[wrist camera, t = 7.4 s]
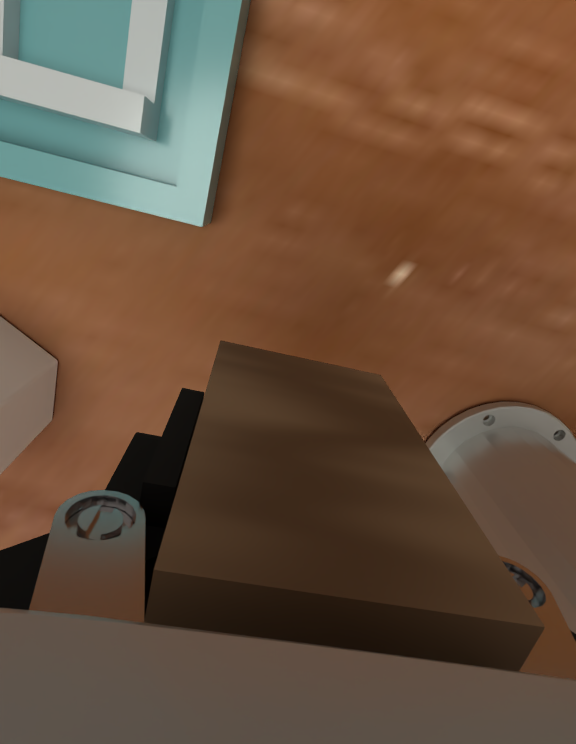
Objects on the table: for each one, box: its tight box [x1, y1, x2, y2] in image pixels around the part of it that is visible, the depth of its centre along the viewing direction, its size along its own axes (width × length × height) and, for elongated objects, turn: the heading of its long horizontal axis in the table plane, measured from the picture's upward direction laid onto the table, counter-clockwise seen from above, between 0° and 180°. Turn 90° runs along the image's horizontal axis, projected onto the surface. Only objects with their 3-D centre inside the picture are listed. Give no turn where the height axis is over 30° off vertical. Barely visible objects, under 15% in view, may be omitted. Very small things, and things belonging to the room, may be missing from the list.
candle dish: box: [0, 0, 251, 227], centre depth 22 cm, size 16×16×4 cm
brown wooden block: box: [144, 341, 545, 672], centre depth 10 cm, size 4×4×8 cm
